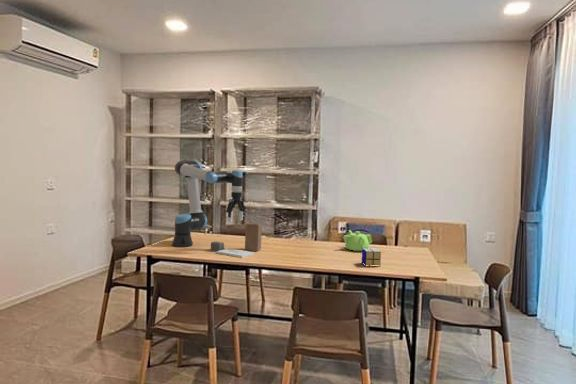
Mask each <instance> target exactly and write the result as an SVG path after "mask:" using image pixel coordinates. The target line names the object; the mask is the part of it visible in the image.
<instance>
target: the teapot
mask: <svg viewBox="0 0 576 384" xmlns="http://www.w3.org/2000/svg"><path fill="white" fill-rule="evenodd" d="M348 232H349V234H348V235H347V234H346V235H345V234H344V235H343V236H342V238H343V241H344V242H345V245H344V246H345V248H346V249H347V250H348V249H349V251H351V250H353V251H352V252H362V249H370V244H372V242H373V240H372V234H369V233H368V234H364V233H361V231H358V230H357V231H355V232H354V233H353V232H352V230H350V229H349V230H348Z"/></svg>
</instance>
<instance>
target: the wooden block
mask: <svg viewBox="0 0 576 384" xmlns="http://www.w3.org/2000/svg"><path fill="white" fill-rule="evenodd" d="M262 227H263V225H262V223H261V222H253V221H252V222H248V223H246V224H245V232H244V233H245V234H244V235H245V237H244V251H249V252H254V253H255V252H260V251H261V249H262Z"/></svg>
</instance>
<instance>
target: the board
mask: <svg viewBox="0 0 576 384" xmlns="http://www.w3.org/2000/svg"><path fill="white" fill-rule="evenodd" d="M216 254H219V255H224V256H229V257H234V256H235V257H236V258H246V257H250V256H254V254H255V251H246V250H241V249H237V248H236V249H235V248H231V247H230V248H228V247H227V248H224V250H220V251H216ZM235 257H234V258H235Z"/></svg>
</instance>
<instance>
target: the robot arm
mask: <svg viewBox="0 0 576 384" xmlns="http://www.w3.org/2000/svg"><path fill="white" fill-rule="evenodd" d="M174 171H175V174H177V175H178V176H182V177H184V179H185V181H186V183H187V191H188V192H187V193H188V194H187V195H188V206H189V212H188V213H181V214H177V215H176V216H175V218H174V219H175V220H174V236H173V239H172V243H171V245H172V247H175V248H176V247H177V248H186V247H187V248H188V247H192V246H193V244H194V242H193V241H192V235H191V233H192V232H191V231H199V230H203V229H205V227H206V226H207V224H208V217H207V215H206V214H204V211H203V210H202V207H201V204H202V203H201V195H200V184H199V180H202V181H205V182H207V183H209V184H226V183H227V184H231V187H230V188H231V189H230V190H231V194H230V197H231V198H229V200H228V205H227V207H226V211H225V212H226V213H227V222H228V223H232V222H233V211H234V208H235V206H237V207H238V209H239V213H238V214H239V215H238V220H239V221H243V220H244V219H243V218H244V212H245V211H246V207H245V203H244V198H243V197H242V195H243V193H242V192H243V177H244V176H243V171H242V170H235V169H234V170H232V171H231V172H228V171H227V172H226V171H223V172H216V171H215V172H214V171H211V170H207V169H205V168H204V169H203V166H202V164H201V163H200V161H195V160H179V161H178V162H176V163H175V165H174Z"/></svg>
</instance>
